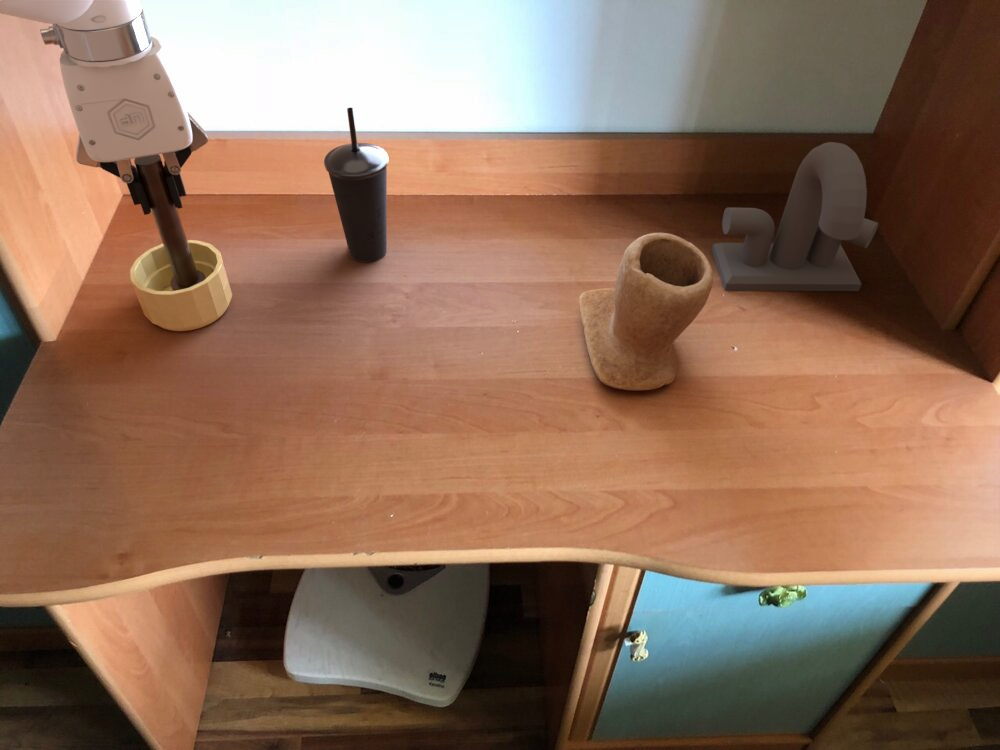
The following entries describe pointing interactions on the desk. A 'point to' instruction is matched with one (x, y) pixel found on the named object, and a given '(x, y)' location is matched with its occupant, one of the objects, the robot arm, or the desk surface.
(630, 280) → the stone cup
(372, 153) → the drinking cup
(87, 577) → the desk surface
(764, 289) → the faucet
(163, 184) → the stirrer
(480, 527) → the desk surface
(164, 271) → the bowl
